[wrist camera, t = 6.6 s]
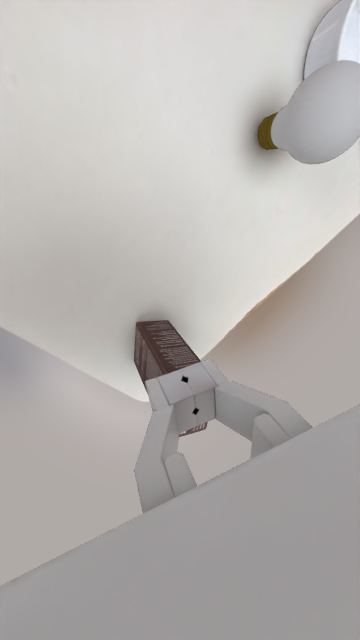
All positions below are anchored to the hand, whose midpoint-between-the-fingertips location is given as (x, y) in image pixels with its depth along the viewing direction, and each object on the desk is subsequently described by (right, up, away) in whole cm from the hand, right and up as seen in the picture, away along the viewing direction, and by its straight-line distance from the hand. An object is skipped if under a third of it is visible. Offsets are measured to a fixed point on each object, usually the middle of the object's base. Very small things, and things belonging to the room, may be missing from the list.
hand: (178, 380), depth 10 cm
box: (-4, 0, +20) cm, 20 cm away
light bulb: (+8, +21, +13) cm, 27 cm away
